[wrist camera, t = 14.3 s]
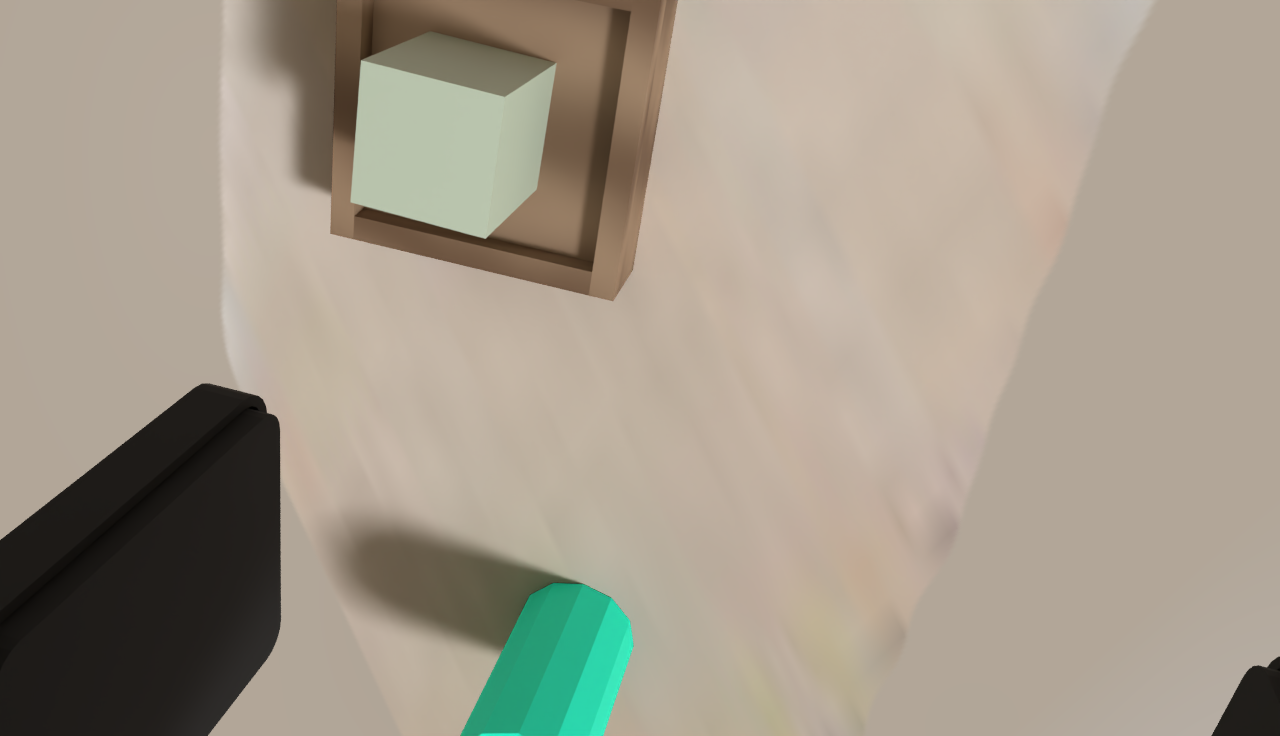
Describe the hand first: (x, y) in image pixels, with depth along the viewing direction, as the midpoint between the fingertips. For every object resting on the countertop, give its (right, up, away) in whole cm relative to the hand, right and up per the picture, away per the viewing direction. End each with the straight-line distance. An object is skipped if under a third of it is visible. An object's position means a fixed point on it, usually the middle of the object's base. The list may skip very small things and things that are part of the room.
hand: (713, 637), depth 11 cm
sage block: (-7, +12, +32) cm, 35 cm away
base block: (-6, +14, +35) cm, 38 cm away
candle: (-4, -11, +46) cm, 47 cm away
